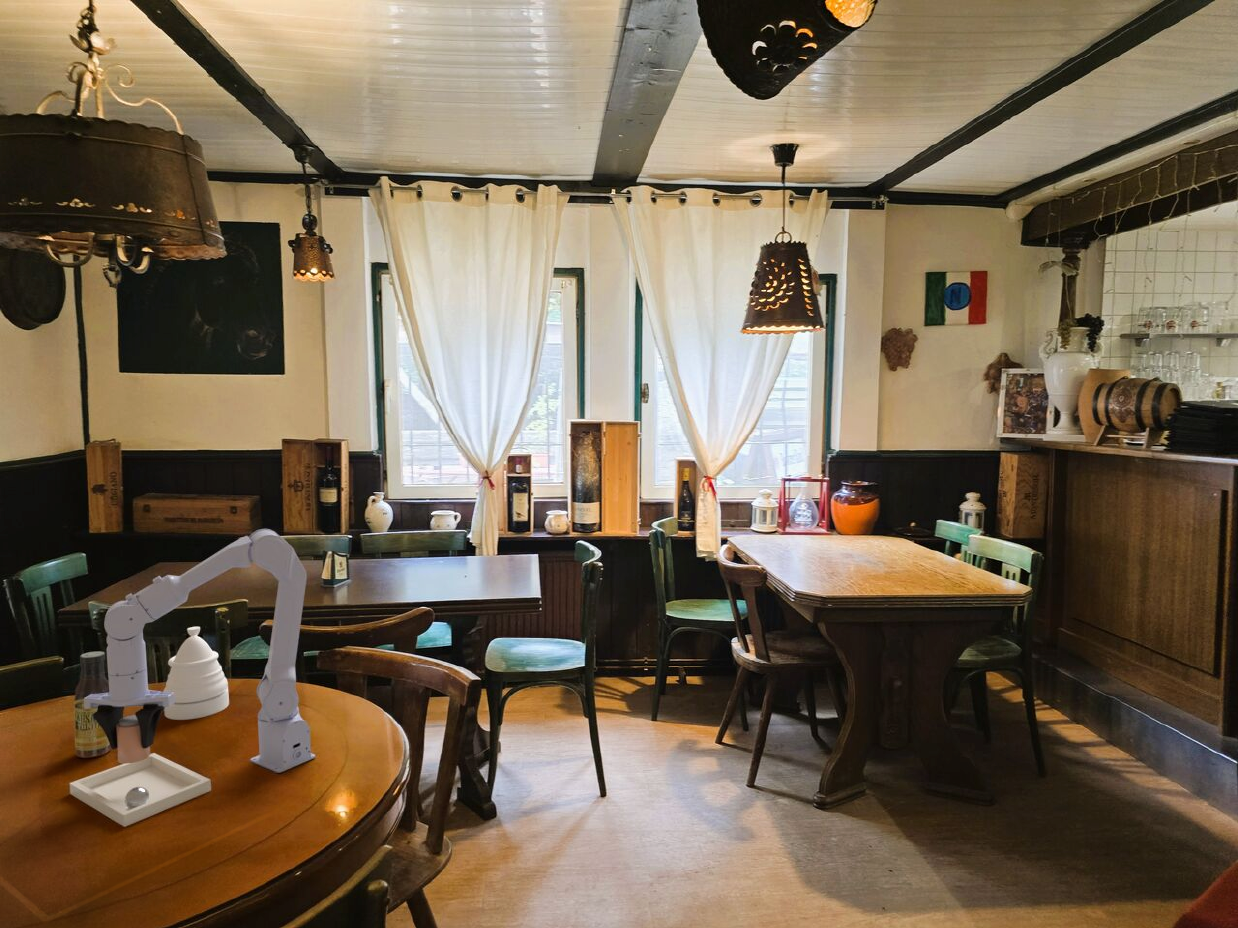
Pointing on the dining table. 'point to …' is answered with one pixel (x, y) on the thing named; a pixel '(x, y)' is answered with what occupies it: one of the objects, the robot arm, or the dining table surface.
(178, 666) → the honey pot
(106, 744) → the sauce bottle
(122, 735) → the shaker
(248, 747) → the dining table surface
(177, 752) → the dining table surface
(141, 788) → the mixing ball
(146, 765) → the dish
